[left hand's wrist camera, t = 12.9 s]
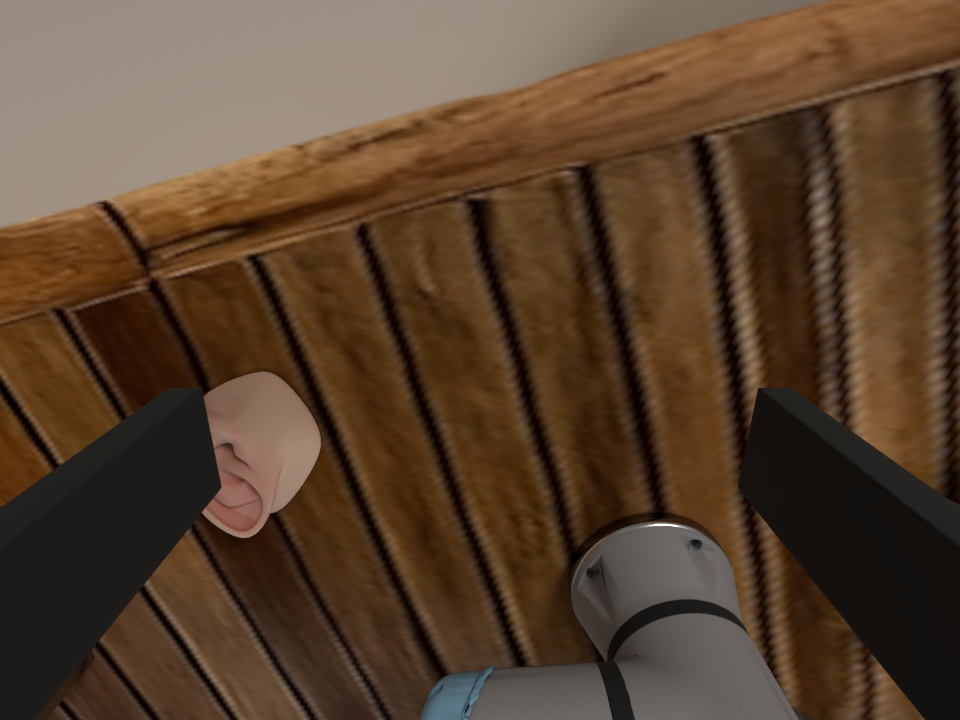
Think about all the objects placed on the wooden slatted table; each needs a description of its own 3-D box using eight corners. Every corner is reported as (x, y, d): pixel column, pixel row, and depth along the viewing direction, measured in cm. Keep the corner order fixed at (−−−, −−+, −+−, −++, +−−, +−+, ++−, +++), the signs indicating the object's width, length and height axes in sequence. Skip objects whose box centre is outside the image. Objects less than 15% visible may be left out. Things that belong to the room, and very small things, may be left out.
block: (81, 621, 53) (-8, 722, 43) (94, 659, 55) (11, 764, 45) (35, 621, 53) (-64, 722, 43) (50, 659, 55) (-42, 764, 45)
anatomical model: (221, 366, 39) (342, 458, 42) (244, 348, 43) (354, 434, 45) (129, 476, 42) (247, 555, 45) (158, 451, 46) (265, 525, 49)
